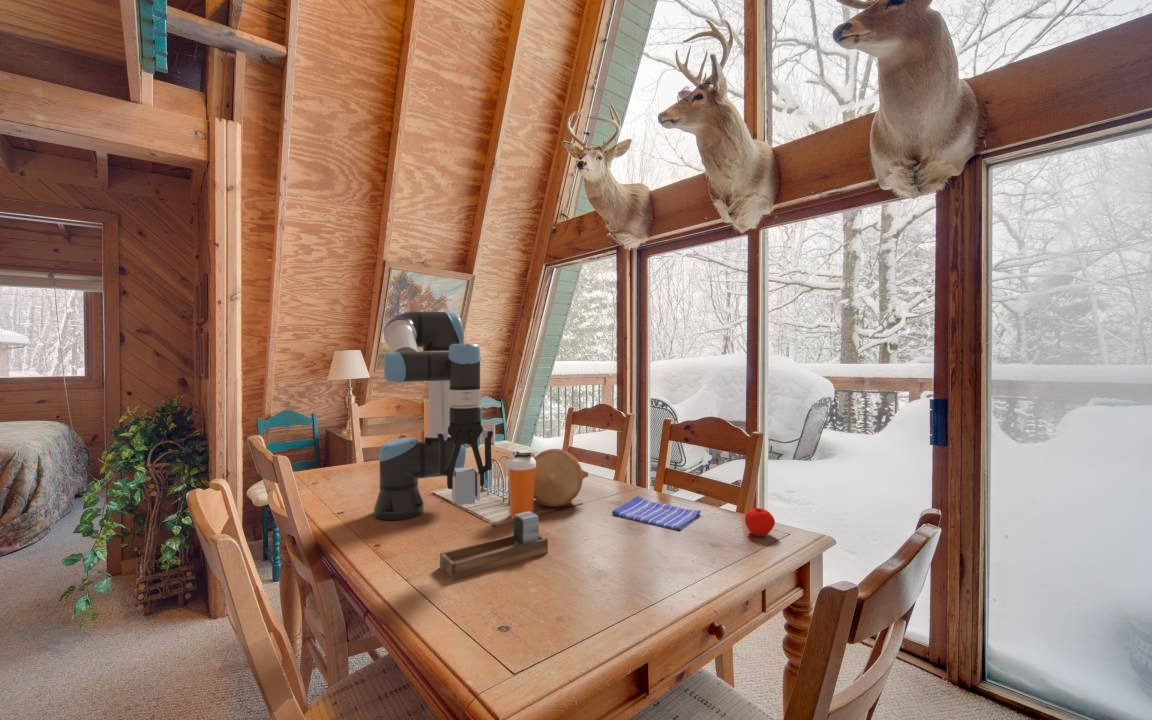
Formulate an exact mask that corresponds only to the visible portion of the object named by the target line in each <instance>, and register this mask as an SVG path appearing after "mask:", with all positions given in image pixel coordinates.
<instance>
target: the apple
mask: <svg viewBox="0 0 1152 720" xmlns="http://www.w3.org/2000/svg"><path fill="white" fill-rule="evenodd" d="M744 523H745V527H746V528H747V529H748V531H749V532H750V533H751V534H752V535H754V536H756V537H764V536H767V535H768V534H769V533H771V532H772V530H773V528H774V527H775V524H776V521H775V518H774V516H773V515H772V513H771V512H770V511H768V510H766V509H765V508H760V507H753V508H750V509H749V510H748V511H747V512H746V513H745V517H744Z"/></svg>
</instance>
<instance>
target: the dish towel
mask: <svg viewBox="0 0 1152 720" xmlns="http://www.w3.org/2000/svg"><path fill="white" fill-rule="evenodd" d="M701 511H702V510H699V509H689V508H682V507H678V506H676V505H675V506H674V505H671V504H665V503H660V502H657V501H653V500H648V499H646V498H643V497H641V496H639V495H637V496H634V497H633V498H632V499H631V500H630V501H628V502H626V503H624V504H622V505H619V506H618V507H616V508H614V509H613V510H612V511H611V514H612V515H613V516H615V517H620V518H623V519H627V520H631V521H636V522H640V523H645V524H649V525H652V526H656V527H661V528H665V529H669V530H677V531H680V530H683V529H684V528H686V527H687V526H689V525H690V524H691V523H693V522H694V521H696V520H697V519H698V518H700V516H701V514H700V513H701Z"/></svg>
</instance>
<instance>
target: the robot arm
mask: <svg viewBox="0 0 1152 720" xmlns="http://www.w3.org/2000/svg"><path fill="white" fill-rule="evenodd" d="M464 333H465V332H464V326H463V323H462V320H461V317H460V315H459V314H457V313H456V312H450V311H415V310H414V311H413V310H412V311H406V312H402V313H400V314H398V315H395V316H394V317H393V318H391V319H390V320H389V321H388V322H387V323H386V325H385V326H384V329H383V338H384V341H385V343H386V345H387V346H388V347H389V351H388V352H385V354H384V356H383V378H384V380H385V381H386V382H388V383H390V382H393V383H394V382H395V383H405V382H407V383H409V382H428V431H427V433H426V434H425V435H424V436H423V437H424V441H419V439H418V438H417V437H414V436H413V437H400V438H396V439H393V440H389V441H387V442H385V443H383V444H382V445H381V446H380V447H379V455H378V457H379V458H378V462H379V491H378V495H377V497H376V502H375V504H374V507H373V516H374V518H377V520H378V519H379V520H383V521H399V520H405V519H412V518H414V517H417V516H420V515H421V514H423V513H424V511H425V503H424V499H423V497H422V494H421V491H420V489H419V480H420V479H427V478H429V479H430V478H437V477H446V486H447V489H448V490H451V501H452V504H456V476H455V474H454V468H463V467H465V462H466V457H467V445H470V446H471V449H472V452H473V456H474V460H475V463H476V464H475V465H476V466H477V471H476V472H477V496H475V501H477V502H478V501H481V487H483V486H485V473H486V472H487V471H491V470H492V467H493V465H492V462H493V461H492V438H493V435H494V432H493V430H491V429H486V428H483V425H482V423H481V420H482V417H481V414H482V413H481V412H482V410H481V407H480V406H479V405H481V360H482V357H481V349H480V346H479V344H477V343H465V334H464ZM419 348H422V351H419ZM481 434H482V438H484V464H483V461H482V457H481V454H480V450H479V446H478V445H479V444H478V442H477V440H478V439H479V437H480V436H481Z"/></svg>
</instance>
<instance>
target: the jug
mask: <svg viewBox="0 0 1152 720" xmlns="http://www.w3.org/2000/svg"><path fill="white" fill-rule="evenodd" d="M533 458H534V459H535V461H536V468H535V483H534V501H536V502H538V503H539V504H540V505H542V506H546V507H551V508H553V507H554V508H556V507H558V508H560V507H562V506H566V505H568V504H570V503H571V502H572V501H573V500H575V498H576V497H577V496H578V495H579V493H580V491H581V490H582V486H583V480H584V479H585V478H588V477H589V472H588V471H585V470H584V469H583V468H582V466H581V464H580V462H579V461H578V459H577V458H576V457H575V456H574V455H573V454H572V453H571V452H569V451H567V450H564V449H562V448H561V449H560V448H551V449H550V448H549V449H545V450H543V451H540V452H538V454H537V455H535V456H533Z"/></svg>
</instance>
